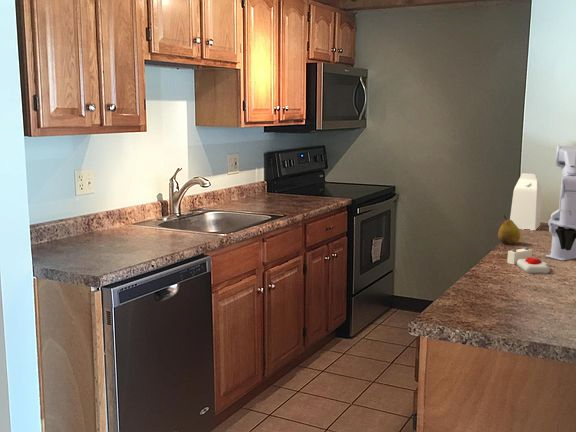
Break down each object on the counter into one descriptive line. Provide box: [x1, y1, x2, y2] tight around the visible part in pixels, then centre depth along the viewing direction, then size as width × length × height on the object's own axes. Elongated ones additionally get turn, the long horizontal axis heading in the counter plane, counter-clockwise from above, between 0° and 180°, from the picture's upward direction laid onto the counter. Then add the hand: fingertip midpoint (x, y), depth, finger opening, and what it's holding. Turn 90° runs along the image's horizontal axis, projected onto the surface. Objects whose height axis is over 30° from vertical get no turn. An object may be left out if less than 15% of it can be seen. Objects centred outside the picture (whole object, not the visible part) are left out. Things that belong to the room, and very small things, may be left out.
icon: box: [516, 257, 550, 275], centre depth 232 cm, size 12×4×10 cm
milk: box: [509, 172, 542, 231], centre depth 307 cm, size 12×12×26 cm
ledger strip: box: [506, 246, 533, 265], centre depth 242 cm, size 10×3×5 cm, turn 121°
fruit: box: [497, 215, 521, 245], centre depth 273 cm, size 9×9×12 cm
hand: (565, 249), depth 222 cm, fingers closed
